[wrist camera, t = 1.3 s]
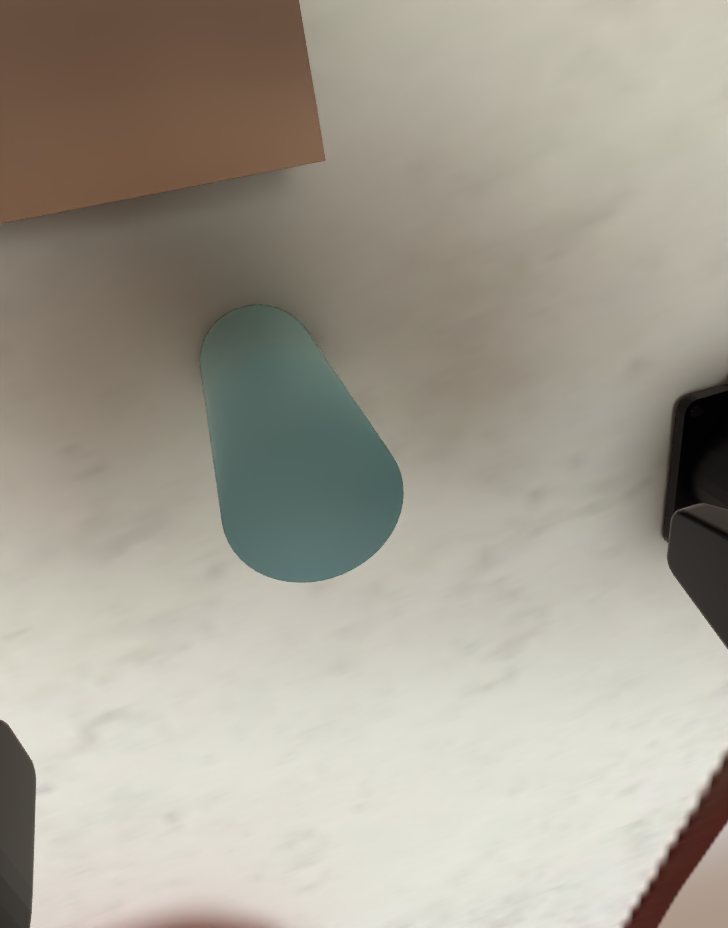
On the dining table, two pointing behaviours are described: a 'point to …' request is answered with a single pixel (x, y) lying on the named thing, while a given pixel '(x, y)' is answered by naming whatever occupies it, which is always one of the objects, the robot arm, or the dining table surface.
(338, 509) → the dowel
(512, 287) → the dining table surface
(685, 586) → the robot arm
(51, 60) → the hole block
